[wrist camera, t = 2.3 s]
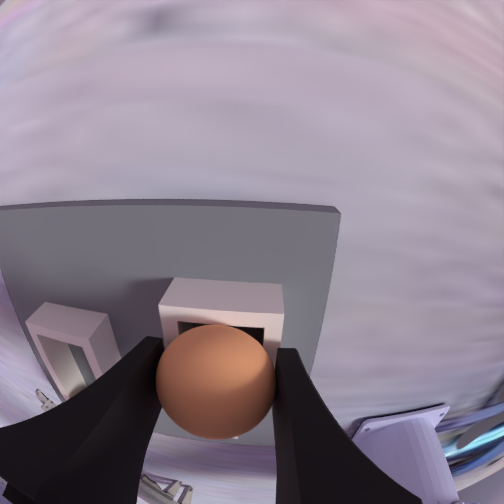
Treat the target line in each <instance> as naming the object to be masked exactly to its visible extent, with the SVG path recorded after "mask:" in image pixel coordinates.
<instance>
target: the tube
mask: <svg viewBox="0 0 504 504" xmlns="http://www.w3.org/2000/svg"><path fill="white" fill-rule="evenodd" d="M158 307H159V313H160V319H161V325H162V330H163V335H164V341H165V346H166V348H167V347H168V345H169V344H170V343H171V342H172V341H173V340H174V339H175V338H177V337H178V336H179V335H181V334H182V333H184V332H186V331H188V330H190V329H192V328H193V323H203V324H214V325H227V326H242V327H259V328H263V333H262V347H263V348H264V349H265V350H266V352H267V353H268V355H269V357H270V359H271V360H272V363H273V366H274V369H275V363H276V356H277V348H280V345H281V338H282V330H283V322H284V304H283V293H282V284H275V283H255V282H237V281H221V280H205V279H191V278H177V277H174V279H173V281H172V282H171V284H170V286H169V287H168V289H167V291H166V292H165V294H164V296H163V297H162V299H161V301H160V303H159V304H158Z"/></svg>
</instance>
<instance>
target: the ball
mask: <svg viewBox="0 0 504 504" xmlns="http://www.w3.org/2000/svg"><path fill="white" fill-rule="evenodd" d="M156 390H157V394H158V398H159V400H160V403H161V405H162V407H163V409H164V410H165V412H166V413H167V415H168V416H169V417H170V419H171V420H172V421H173V422H174V423H175V424H177V425H178V426H179V427H180V428H182V429H183V430H185V431H187V432H188V433H190V434H193V435H195V436H198V437H202V438H206V439H214V440H223V439H229V438H234V437H238V436H240V435H242V434H245V433H247V432H249V431H250V430H252V429H253V428H255V427H256V426H257V425H258V424H259V423H260V422H261V421H262V420H263V419H264V418H265V417H266V415H267V414H268V412H269V411H270V409H271V407H272V404H273V402H274V398H275V394H276V373H275V369H274V366H273V363H272V360H271V359H270V357H269V355H268V353H267V352H266V350H265V349H264V348H263V347H262V346H261V344H260V343H259V342H258V341H257V340H255V339H254V338H253V337H251V336H250V335H248V334H247V333H245V332H243V331H241V330H239V329H236V328H233V327H230V326H225V325H204V326H199V327H196V328H192V329H190V330H188V331H186V332H184V333H182V334H181V335H179V336H178V337H177V338H175V339H174V340H173V341H172V342H171V343H170V344H169V345H168V347H167V348H166V349H165V351H164V352H163V354H162V356H161V358H160V360H159V363H158V366H157V371H156Z"/></svg>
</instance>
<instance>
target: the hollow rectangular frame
mask: <svg viewBox="0 0 504 504" xmlns="http://www.w3.org/2000/svg"><path fill="white" fill-rule="evenodd" d="M25 323H26V325H27V327H28V330H29V332H30V334H31V337H32V339H33V341H34V343H35V345H36V347H37V349H38V351H39V354H40V356H41V358H42V360H43V361H44V363H45V365H46V367H47V369H48V371H49V373H50V375H51V376H52V378H53V380H54V382H55V383H56V385H57V387H58V389H59V390H60V392H61V394H62V395H63V397H64V398H65V400H66V401H67V400H68V399H70V398H71V397H73V396H75V395H76V394H78V393H79V392H81V391H82V390H83V389H85V388H86V387H88V386H87V384H86V382H85V380H84V378H83V376H82V374H81V372H80V370H79V368H78V366H77V364H76V362H75V359H74V357H73V355H72V353H71V350H70V348H69V346H68V343H69V344H72V345H76V346H80V347H82V348H83V351H84V353H85V355H86V358H87V360H88V362H89V365H90V367H91V369H92V372H93V374H94V376H95V378H96V380H97V379H98V378H99V377H100V376H102V375H103V374H104V373H105V372H107V371H108V370H109V369H110V368H111V367H112V366H114V365H115V364H116V363H117V362H118V361H119V360H120V359H121V356H120V353H119V350H118V347H117V344H116V340H115V337H114V334H113V330H112V327H111V324H110V320H109V316H108V314H106V313H100V312H95V311H89V310H84V309H78V308H73V307H68V306H63V305H58V304H54V303H49V302H45V303H44V304H43V305H42V306H40V307H39V308H38V309H37V310H36V311H35V312H34V313H33V314H32V315H31V316H30V317H29V318H28V319H27V320H26V321H25Z"/></svg>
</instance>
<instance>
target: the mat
mask: <svg viewBox="0 0 504 504" xmlns="http://www.w3.org/2000/svg"><path fill="white" fill-rule="evenodd" d="M340 217H341V213H340V212H339V211H338V210H337V209H336V208H335V207H333V206H320V205H307V204H292V203H275V202H256V201H231V200H193V199H125V200H88V201H66V202H48V203H33V204H20V205H9V206H0V268H1V271H2V274H3V278H4V281H5V284H6V287H7V290H8V293H9V296H10V298H11V301H12V304H13V307H14V309H15V312H16V314H17V317H18V319H19V322H20V324H21V326H22V329H23V331H24V333H25V335H26V338H27V340H28V342H29V344H30V346H31V348H32V350H33V352H34V354H35V356H36V358H37V360H38V362H39V364H40V366H41V368H42V369H43V371H44V373H45V375H46V377H47V378H48V380H49V382H50V384H51V385H52V387H53V389H54V390H55V392H56V394H57V395H58V397H59V398H60V400H61V401H62V403H63V402H65V401H66V400H65V398H64V397H63V395H62V394H61V392H60V390H59V389H58V387H57V385H56V383H55V382H54V380H53V378H52V376H51V375H50V373H49V371H48V369H47V367H46V365H45V363H44V361H43V360H42V358H41V356H40V354H39V351H38V349H37V347H36V345H35V343H34V341H33V339H32V337H31V334H30V332H29V330H28V327H27V325H26V323H25V321H26V320H27V319H28V318H29V317H30V316H31V315H32V314H33V313H34V312H35V311H36V310H37V309H38V308H39V307H40V306H42V305H43V304H44V303H45V302H49V303H54V304H58V305H63V306H68V307H73V308H78V309H84V310H89V311H95V312H100V313H106V314H108V316H109V320H110V324H111V327H112V330H113V334H114V337H115V340H116V344H117V347H118V350H119V353H120V356H121V359H122V358H123V357H124V356H125V355H126V354H127V353H128V352H129V351H130V350H132V349H133V348H134V347H135V346H136V345H137V344H138V343H139V342H140V341H142V340H143V339H144V338H145V337H146V336H152V337H159V338H162V339H163V344H164V349H166V346H165V341H164V335H163V330H162V325H161V319H160V313H159V307H158V304H159V303H160V301H161V299H162V297H163V296H164V294H165V292H166V291H167V289H168V287H169V286H170V284H171V282H172V281H173V279H174V277H177V278H191V279H205V280H221V281H237V282H255V283H275V284H282V293H283V304H284V322H283V330H282V338H281V345H280V348H296V349H297V350H298V352H299V355H300V358H301V360H302V362H303V365H304V367H305V369H306V371H307V373H308V375H309V377H310V374H311V370H312V366H313V362H314V358H315V353H316V349H317V345H318V341H319V336H320V332H321V327H322V323H323V318H324V313H325V308H326V303H327V298H328V293H329V287H330V282H331V276H332V270H333V265H334V258H335V252H336V246H337V239H338V232H339V225H340ZM204 325H214V324H203V323H193V328H196V327H199V326H204ZM225 326H227V325H225ZM230 327H233V328H236V329H239V330H241V331H243V332H245V333H247V334H248V335H250V336H251V337H253V338H254V339H255V340H257V341H258V342H259V343H260V344H261V346H262V333H263V328H259V327H242V326H230ZM68 346H69V348H70V350H71V353H72V355H73V357H74V359H75V362H76V364H77V366H78V368H79V370H80V372H81V374H82V376H83V378H84V380H85V382H86V384H87V386H89V385H90V384H92V383H93V382H94V381H95V380H96V378H95V376H94V374H93V372H92V369H91V367H90V365H89V362H88V360H87V358H86V355H85V353H84V351H83V348H82V347H80V346H76V345H72V344H69V343H68ZM153 432H155V433H159V434H164V435H169V436H175V437H180V438H186V439H193V440H199V441H207V442H215V443H225V444H236V445H252V446H275V439H274V427H273V416H272V407H271V409H270V411H269V412H268V414H267V415H266V417H265V418H264V419H263V420H262V421H261V422H260V423H259V424H258V425H257V426H256V427H255V428H253V429H252V430H250V431H249V432H247V433H245V434H242V435H240V436H238V439H235V438H229V439H223V440H214V439H206V438H202V437H198V436H195V435H193V434H190V433H188V432H187V431H185V430H183V429H182V428H180V427H179V426H178V425H177V424H175V423H174V422H173V421H172V420H171V419H170V417H169V416H168V415H167V413H166V412H165V410H164V409H163V407H162V409H161V412H160V414H159V417H158V420H157V422H156V425H155V428H154V431H153Z"/></svg>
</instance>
